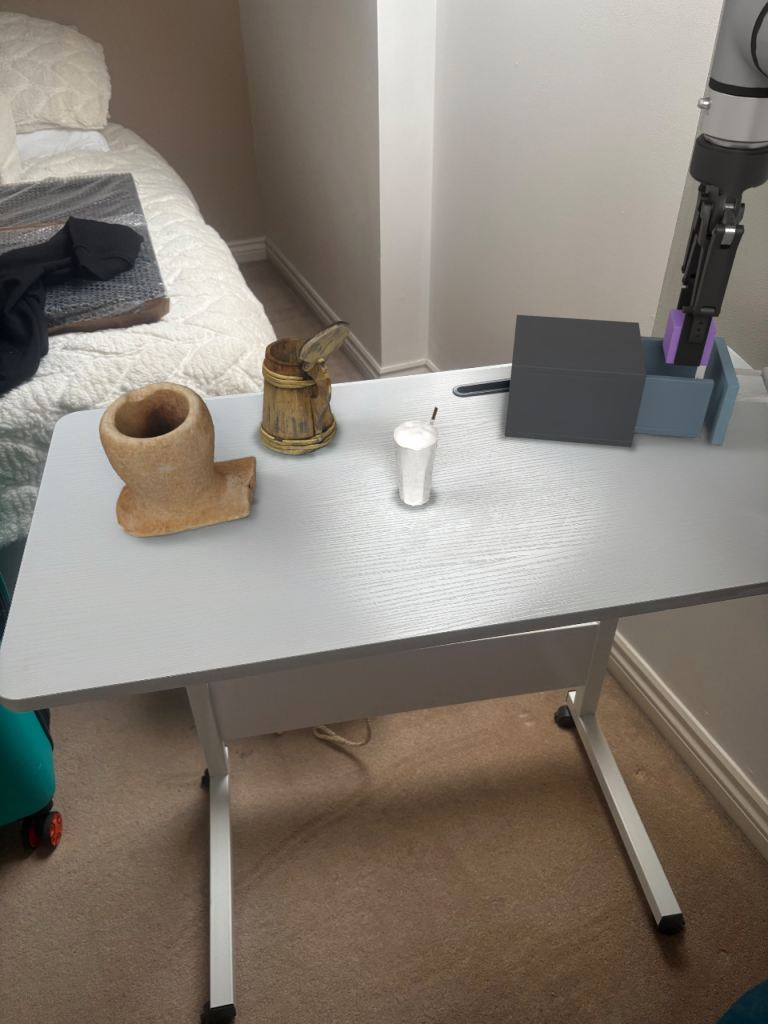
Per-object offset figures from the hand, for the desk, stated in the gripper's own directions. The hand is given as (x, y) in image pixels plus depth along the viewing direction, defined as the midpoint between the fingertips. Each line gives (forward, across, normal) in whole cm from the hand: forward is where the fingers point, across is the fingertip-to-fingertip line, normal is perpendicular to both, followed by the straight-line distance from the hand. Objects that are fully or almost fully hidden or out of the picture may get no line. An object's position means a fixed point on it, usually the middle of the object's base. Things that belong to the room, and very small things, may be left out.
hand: (684, 352), depth 95 cm
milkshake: (+9, +19, -28) cm, 35 cm away
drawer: (+8, 0, +2) cm, 9 cm away
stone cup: (+9, +26, -51) cm, 58 cm away
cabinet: (+9, 0, -12) cm, 15 cm away
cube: (0, 0, 0) cm, 0 cm away
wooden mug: (+9, +11, -42) cm, 44 cm away
